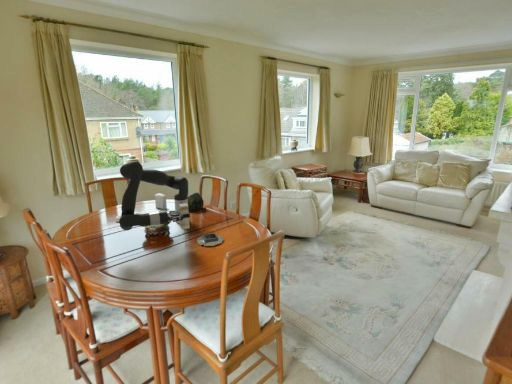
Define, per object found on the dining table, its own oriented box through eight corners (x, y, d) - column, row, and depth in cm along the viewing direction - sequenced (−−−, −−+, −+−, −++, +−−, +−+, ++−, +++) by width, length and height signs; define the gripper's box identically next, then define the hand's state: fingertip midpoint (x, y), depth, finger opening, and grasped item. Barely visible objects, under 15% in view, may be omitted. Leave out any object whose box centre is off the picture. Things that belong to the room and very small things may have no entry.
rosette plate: (194, 238, 184) (194, 233, 184) (218, 234, 191) (218, 229, 190) (200, 248, 170) (200, 243, 169) (226, 243, 177) (226, 238, 176)
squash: (179, 203, 239) (188, 191, 232) (191, 199, 251) (200, 188, 245) (189, 216, 236) (199, 205, 229) (201, 212, 249) (210, 201, 242)
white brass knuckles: (119, 225, 207) (114, 219, 218) (145, 220, 217) (139, 215, 229) (118, 221, 206) (114, 215, 218) (144, 215, 217) (139, 210, 228)
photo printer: (167, 208, 244) (166, 193, 241) (163, 209, 241) (162, 195, 238) (158, 206, 249) (157, 192, 246) (154, 207, 246) (153, 193, 243)
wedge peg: (180, 226, 173) (178, 204, 169) (188, 225, 175) (186, 203, 171) (181, 229, 169) (180, 206, 165) (189, 228, 171) (188, 205, 167)
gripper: (159, 215, 157) (191, 211, 164) (156, 208, 169) (186, 204, 176) (160, 228, 159) (192, 224, 166) (157, 220, 171) (186, 216, 178)
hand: (188, 213), depth 171 cm, fingers closed on wedge peg, 4 cm apart
